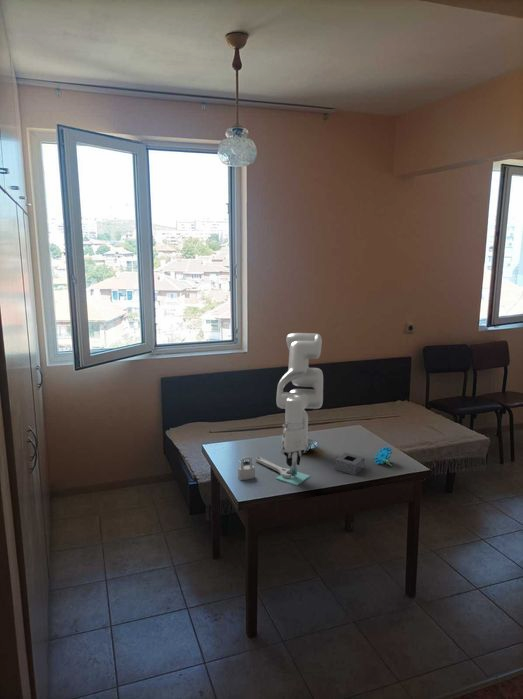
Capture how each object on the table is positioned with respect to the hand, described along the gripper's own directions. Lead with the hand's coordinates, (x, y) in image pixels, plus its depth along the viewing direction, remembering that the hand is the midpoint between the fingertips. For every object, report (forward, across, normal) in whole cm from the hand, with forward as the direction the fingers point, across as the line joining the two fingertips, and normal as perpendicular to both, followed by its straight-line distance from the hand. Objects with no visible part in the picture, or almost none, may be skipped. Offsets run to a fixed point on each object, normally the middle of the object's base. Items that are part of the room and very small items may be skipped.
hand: (293, 464), depth 219 cm
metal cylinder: (+4, 0, 0) cm, 4 cm away
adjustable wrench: (+6, -3, +12) cm, 14 cm away
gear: (+7, +47, -3) cm, 48 cm away
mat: (+7, 0, 0) cm, 7 cm away
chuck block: (+7, +29, -2) cm, 30 cm away
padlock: (+7, -19, +9) cm, 22 cm away
